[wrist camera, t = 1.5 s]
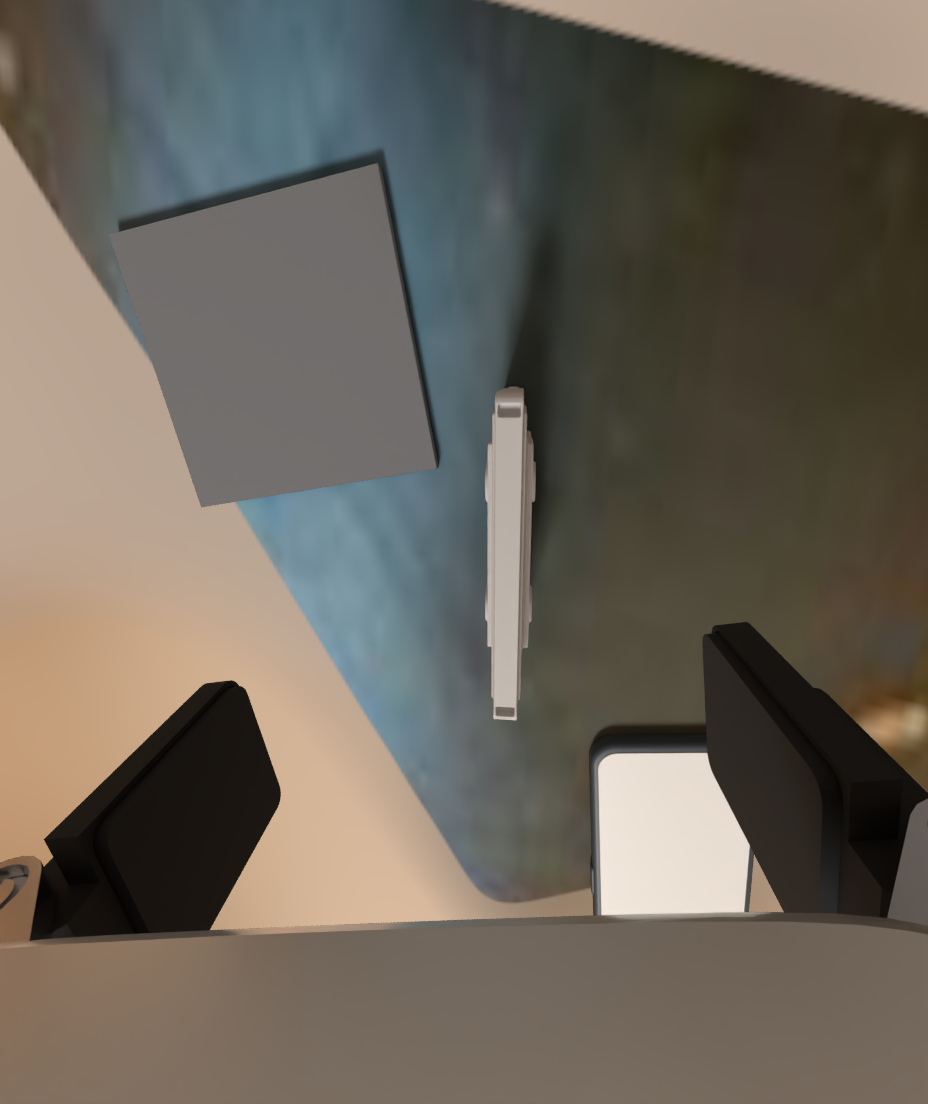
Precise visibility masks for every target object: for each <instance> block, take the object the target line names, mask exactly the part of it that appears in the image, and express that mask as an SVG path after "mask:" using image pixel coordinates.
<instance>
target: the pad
mask: <svg viewBox="0 0 928 1104" xmlns="http://www.w3.org/2000/svg"><path fill="white" fill-rule="evenodd" d="M109 237H110V239H111V242H112V245H113V248H114V251H115V254H116V257H117V260H118V263H119V266H120V269H121V272H122V275H123V278H124V281H125V284H126V287H127V290H128V292H129V295H130V298H131V301H132V304H133V307H134V310H135V313H136V316H137V319H138V322H139V325H140V328H141V331H142V334H143V337H144V340H145V343H146V346H147V348H148V351H149V354H150V357H151V360H152V363H153V366H154V369H155V372H156V375H157V378H158V381H159V384H160V386H161V390H162V393H163V396H164V399H165V401H166V404H167V407H168V410H169V413H170V416H171V419H172V422H173V425H174V428H175V431H176V433H177V437H178V440H179V443H180V446H181V449H182V452H183V454H184V457H185V460H186V463H187V466H188V469H189V472H190V475H191V478H192V481H193V484H194V487H195V490H196V493H197V495H198V499H199V501H200V505H201V507H205V506H211V505H218V504H223V503H230V502H236V501H242V500H248V499H254V498H260V497H267V496H273V495H279V494H285V493H291V492H297V491H303V490H309V489H316V488H322V487H328V486H334V485H340V484H346V483H352V482H358V481H365V480H371V479H377V478H383V477H389V476H395V475H401V474H407V473H413V472H420V471H426V470H432V469H437V468H438V467H439V465H438V460H437V455H436V450H435V444H434V439H433V434H432V429H431V424H430V418H429V413H428V408H427V403H426V398H425V392H424V387H423V382H422V377H421V371H420V366H419V361H418V356H417V351H416V345H415V340H414V335H413V330H412V325H411V319H410V314H409V309H408V304H407V299H406V293H405V288H404V283H403V278H402V273H401V267H400V262H399V257H398V252H397V247H396V241H395V236H394V231H393V226H392V220H391V215H390V210H389V205H388V200H387V194H386V189H385V184H384V179H383V174H382V169H381V167H380V166H379V164H378V163H376V164H372V165H368V166H365V167H361V168H357V169H353V170H350V171H346V172H342V173H338V174H335V175H331V176H327V177H323V178H320V179H316V180H312V181H308V182H305V183H301V184H297V185H293V186H289V187H286V188H282V189H278V190H274V191H271V192H267V193H263V194H259V195H256V196H252V197H248V198H244V199H241V200H237V201H233V202H229V203H226V204H222V205H218V206H214V207H211V208H207V209H203V210H199V211H196V212H192V213H188V214H184V215H181V216H177V217H173V218H169V219H166V220H162V221H158V222H154V223H151V224H147V225H143V226H139V227H136V228H132V229H128V230H124V231H121V232H117V233H113V234H109Z"/></svg>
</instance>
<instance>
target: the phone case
mask: <svg viewBox="0 0 928 1104" xmlns="http://www.w3.org/2000/svg"><path fill="white" fill-rule="evenodd" d="M589 774H590V814H591V851H592V862H591V863H590V872H591V891H592V894H593V915H623V914H668V913H714V912H749V904H750V892H751V882H752V868H753V858H754V853H753V851H752V849H751V847H750V845H749V843H748V841H747V839H746V837H745V835H744V833H743V831H742V829H741V828H740V826H739V824H738V822H737V820H736V818H735V816H734V814H733V812H732V810H731V808H730V806H729V804H728V802H727V800H726V798H725V796H724V794H723V793H722V791H721V789H720V787H719V785H718V783H717V781H716V779H715V777H714V775H713V773H712V770H711V767H710V764H709V760H708V754H707V734H644V735H607V736H604V737H601V738H599V739H598V740H596V741H595V742H594V743H593V745H592V746H591V748H590V751H589Z"/></svg>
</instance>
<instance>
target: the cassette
mask: <svg viewBox="0 0 928 1104" xmlns="http://www.w3.org/2000/svg"><path fill="white" fill-rule="evenodd" d="M533 450H534V445H533V439H532V438H531V432H530V431H527V408H526V406H525V405H524V388H518V386H514V387H508V388H504V389H502V390H500V391H497V392H496V395H495V412H494V413H493V415H492V438H491V440H490V442H489V444H488V462H486V470H485V498H486V501H487V502H488V585H487V586H486V597H485V619H486V621H488V646H491V647H492V677H491V696H492V698H493V699H494V713H493V717H494V719H506V720H517V702H518V700H519V699H520V688H521V653H522V649H523V648H527V647H528V626H529V622H531V613H532V586H530V553H531V519H532V502H534V501H535V484H536V462H534V461H533Z"/></svg>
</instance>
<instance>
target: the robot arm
mask: <svg viewBox="0 0 928 1104" xmlns="http://www.w3.org/2000/svg"><path fill="white" fill-rule="evenodd" d="M703 664H704V687H705V711H706V734H707V754H708V760H709V764H710V767H711V770H712V773H713V775H714V777H715V779H716V781H717V783H718V785H719V787H720V789H721V791H722V793H723V794H724V796H725V798H726V800H727V802H728V804H729V806H730V808H731V810H732V812H733V814H734V816H735V818H736V820H737V822H738V824H739V826H740V828H741V829H742V831H743V833H744V835H745V837H746V839H747V841H748V843H749V845H750V847H751V849H752V851H753V853H754V855H755V857H756V859H757V861H758V863H759V864H760V866H761V868H762V870H763V872H764V874H765V876H766V878H767V880H768V882H769V884H770V886H771V888H772V890H773V892H774V894H775V896H776V897H777V899H778V901H779V903H780V905H781V907H782V909H783V911H784V913H782V912H714V913H668V914H623V915H593V916H563V917H535V918H504V919H474V920H447V921H422V922H421V921H420V922H397V923H369V924H345V925H320V926H295V927H273V928H272V927H271V928H249V929H228V930H210V928H211V926H212V925H213V923H214V921H215V919H216V917H217V916H218V914H219V912H220V910H221V908H222V907H223V905H224V903H225V901H226V899H227V898H228V896H229V894H230V892H231V890H232V889H233V887H234V885H235V883H236V881H237V880H238V878H239V876H240V874H241V872H242V871H243V869H244V867H245V865H246V863H247V861H248V859H249V858H250V856H251V854H252V853H253V851H254V849H255V847H256V845H257V843H258V842H259V840H260V838H261V836H262V835H263V833H264V831H265V829H266V827H267V825H268V824H269V822H270V820H271V818H272V817H273V815H274V813H275V811H276V809H277V807H278V805H279V802H280V796H281V794H280V793H281V792H280V786H279V783H278V780H277V778H276V775H275V772H274V769H273V766H272V763H271V760H270V757H269V754H268V752H267V749H266V746H265V743H264V740H263V737H262V734H261V731H260V729H259V726H258V723H257V720H256V717H255V714H254V711H253V708H252V706H251V703H250V700H249V697H248V694H247V692H246V690H245V689H244V688H243V687H241V686H239V685H238V684H237V683H236V682H234V681H223V682H214V683H207V684H204V685H203V686H201V687H200V688H199V689H198V690H197V691H196V692H195V693H194V694H193V695H192V696H191V697H190V698H189V699H188V700H187V701H186V702H185V703H184V704H183V705H182V706H181V707H180V708H179V709H178V710H177V711H176V712H175V713H173V714H172V715H171V716H170V717H169V718H168V719H167V720H166V721H165V722H164V723H163V724H162V725H161V726H160V727H159V728H158V729H157V730H156V731H155V732H154V733H153V734H152V735H151V736H150V737H149V738H148V739H147V740H146V741H145V742H144V743H143V744H142V745H141V746H140V747H139V748H137V750H135V751H134V752H133V753H132V754H131V755H130V756H129V757H128V758H127V759H126V760H125V761H124V762H123V763H122V764H121V765H120V766H119V767H118V768H117V769H116V770H115V771H114V772H113V773H112V774H111V775H110V776H109V777H108V778H107V779H106V780H105V781H104V782H102V784H100V785H99V786H98V787H97V788H96V789H95V790H94V791H93V792H92V793H91V794H90V795H89V796H88V797H87V798H86V799H85V800H84V801H83V802H82V803H81V804H80V805H79V806H78V807H77V808H76V809H75V810H74V811H73V812H72V813H71V814H70V815H69V816H68V817H67V818H65V820H63V821H62V822H61V823H60V824H59V825H58V826H57V827H56V828H55V829H54V830H53V831H52V832H51V833H50V834H49V835H48V836H47V837H46V838H45V839H44V840H45V842H46V844H47V846H48V848H49V850H50V852H51V854H52V855H53V858H52V859H51V860H50V861H49V862H48V863H47V864H46V865H45V867H44V866H43V864H42V862H41V861H40V860H39V859H37V858H36V857H34V856H21V857H17V858H13V859H8V860H6V861H4V862H1V863H0V1104H928V793H927V792H926V791H925V790H924V789H923V788H922V787H921V786H920V785H919V784H918V783H917V782H916V781H915V780H914V779H913V778H912V777H911V776H910V775H909V774H908V773H907V772H906V771H905V770H904V769H903V768H902V767H901V766H900V765H899V764H898V763H897V762H896V761H895V760H894V759H893V758H892V757H891V756H889V755H888V754H887V753H886V752H885V751H884V750H883V749H882V748H881V747H880V746H879V745H878V744H877V743H876V742H875V741H874V740H873V739H872V738H871V737H870V736H869V735H868V734H867V733H866V732H865V731H864V730H863V729H862V728H861V727H860V726H859V725H858V724H857V723H856V722H855V721H854V720H853V719H852V718H851V717H850V716H849V715H848V714H847V713H846V712H845V711H844V710H843V709H842V708H841V707H840V706H839V705H838V704H837V703H836V702H835V701H834V700H833V699H832V698H831V697H830V696H829V695H828V694H826V693H825V692H824V691H822V690H821V689H818V688H813V687H812V686H811V685H810V684H809V683H808V682H807V681H806V680H805V679H804V678H803V677H802V676H801V675H800V674H799V673H798V672H797V671H796V670H795V669H794V668H793V667H792V666H791V665H790V664H789V663H788V662H787V661H786V660H785V659H784V658H783V657H782V656H781V655H780V654H779V653H778V652H777V651H776V650H775V649H774V648H773V647H772V646H771V645H770V644H769V643H768V642H767V641H766V640H765V639H764V638H763V637H762V636H761V635H760V634H759V633H758V632H757V631H756V630H755V629H754V628H753V627H752V626H751V625H750V624H749V623H748V622H742V623H733V624H725V625H716V626H714V627H713V629H712V634H705V635H704V636H703Z"/></svg>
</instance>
